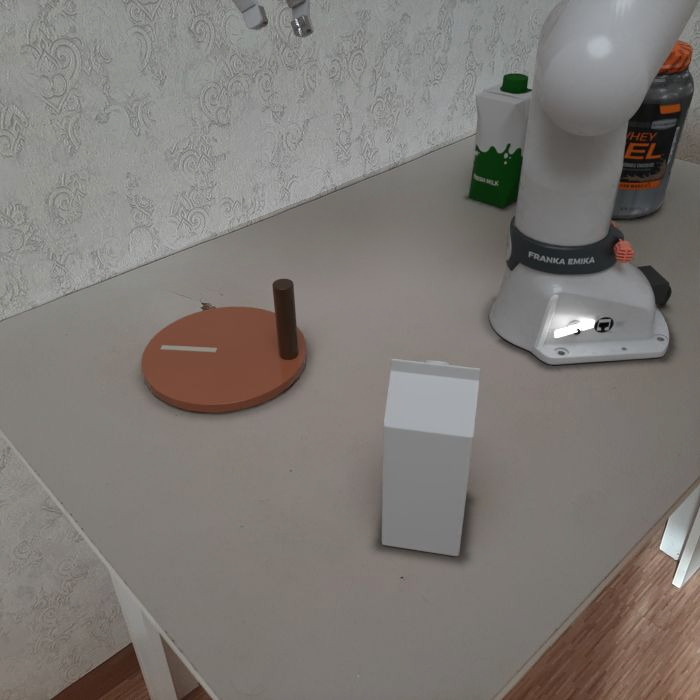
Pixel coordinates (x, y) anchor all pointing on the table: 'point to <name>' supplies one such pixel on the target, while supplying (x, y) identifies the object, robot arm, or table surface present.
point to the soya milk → (500, 140)
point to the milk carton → (427, 454)
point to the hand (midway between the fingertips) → (283, 31)
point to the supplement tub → (655, 137)
